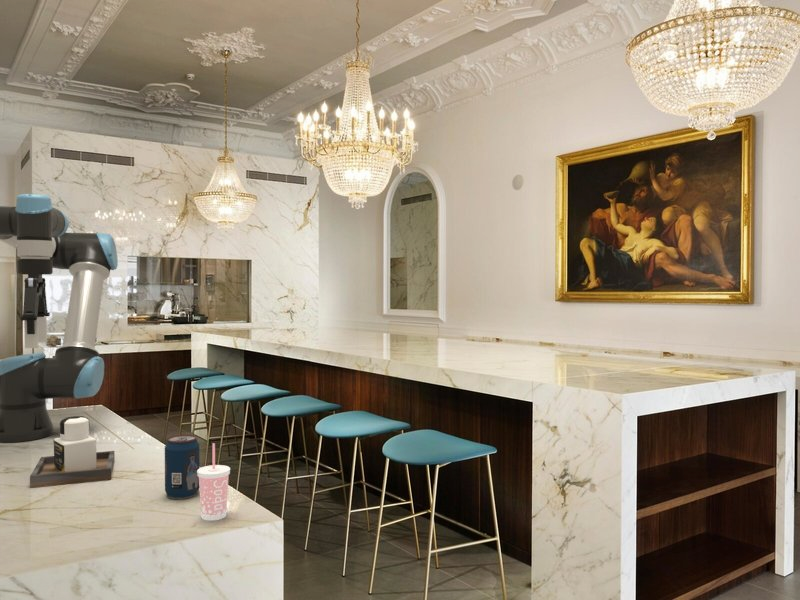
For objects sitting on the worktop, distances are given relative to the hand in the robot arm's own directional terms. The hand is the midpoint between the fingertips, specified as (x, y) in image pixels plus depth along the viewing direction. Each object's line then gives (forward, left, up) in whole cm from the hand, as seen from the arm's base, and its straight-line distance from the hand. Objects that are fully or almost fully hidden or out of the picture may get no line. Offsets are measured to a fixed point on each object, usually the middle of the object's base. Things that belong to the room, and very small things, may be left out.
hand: (36, 345), depth 159 cm
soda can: (+38, +32, -29) cm, 57 cm away
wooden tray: (+14, +10, -29) cm, 33 cm away
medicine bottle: (+14, +10, -28) cm, 33 cm away
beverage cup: (+53, +37, -29) cm, 71 cm away
